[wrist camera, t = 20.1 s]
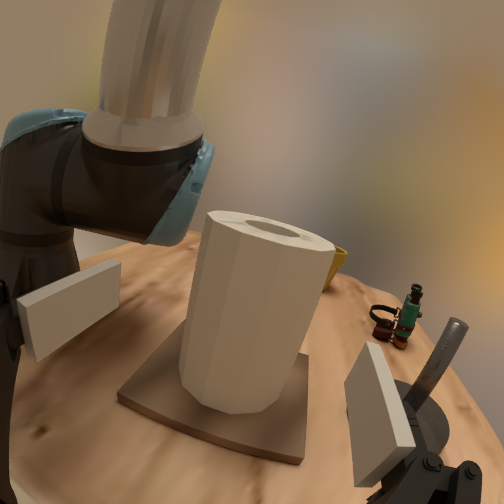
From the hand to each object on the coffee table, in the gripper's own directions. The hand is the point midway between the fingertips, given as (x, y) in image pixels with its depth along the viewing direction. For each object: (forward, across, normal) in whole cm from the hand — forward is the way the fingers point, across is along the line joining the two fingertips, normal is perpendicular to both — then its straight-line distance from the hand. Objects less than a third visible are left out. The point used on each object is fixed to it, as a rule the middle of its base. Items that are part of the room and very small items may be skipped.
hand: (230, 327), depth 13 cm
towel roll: (+10, 0, -11) cm, 15 cm away
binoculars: (+33, +24, -13) cm, 43 cm away
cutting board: (+10, 0, -13) cm, 16 cm away
